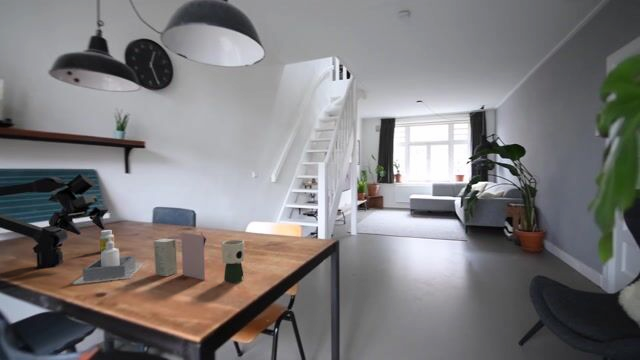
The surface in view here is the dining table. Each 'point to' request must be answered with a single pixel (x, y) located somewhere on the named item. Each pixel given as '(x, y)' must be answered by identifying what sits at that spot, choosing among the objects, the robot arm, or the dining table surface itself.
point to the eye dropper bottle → (110, 255)
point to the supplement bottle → (105, 239)
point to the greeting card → (193, 255)
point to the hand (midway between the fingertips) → (92, 231)
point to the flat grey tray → (109, 271)
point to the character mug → (233, 259)
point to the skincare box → (165, 257)
